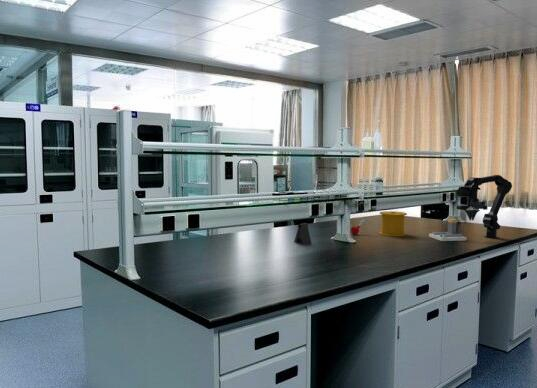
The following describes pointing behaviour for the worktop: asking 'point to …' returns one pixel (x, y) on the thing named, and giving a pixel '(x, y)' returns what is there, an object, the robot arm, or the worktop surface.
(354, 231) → the molecular model
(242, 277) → the worktop surface
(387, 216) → the spool
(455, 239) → the white rail base plate
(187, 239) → the worktop surface
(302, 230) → the phone stand
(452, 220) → the breaker handle
